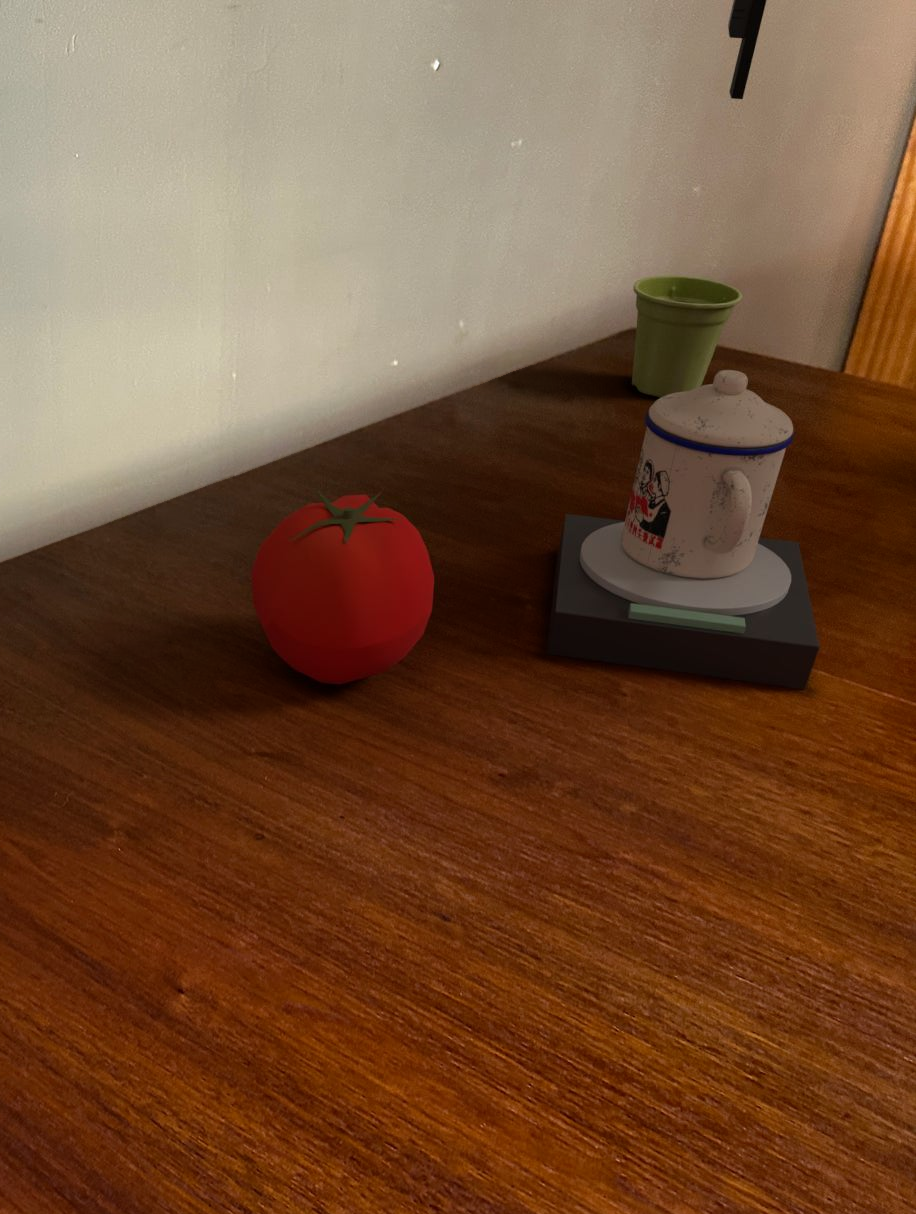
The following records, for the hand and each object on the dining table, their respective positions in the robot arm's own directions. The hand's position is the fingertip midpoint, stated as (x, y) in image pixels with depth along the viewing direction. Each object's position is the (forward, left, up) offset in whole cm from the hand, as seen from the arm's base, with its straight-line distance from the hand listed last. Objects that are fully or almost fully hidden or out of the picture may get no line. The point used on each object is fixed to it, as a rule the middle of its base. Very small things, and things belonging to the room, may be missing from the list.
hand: (838, 104), depth 96 cm
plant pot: (+5, -23, -27) cm, 36 cm away
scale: (+5, +25, -27) cm, 37 cm away
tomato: (+26, +38, -27) cm, 53 cm away
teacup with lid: (+5, +24, -23) cm, 34 cm away
